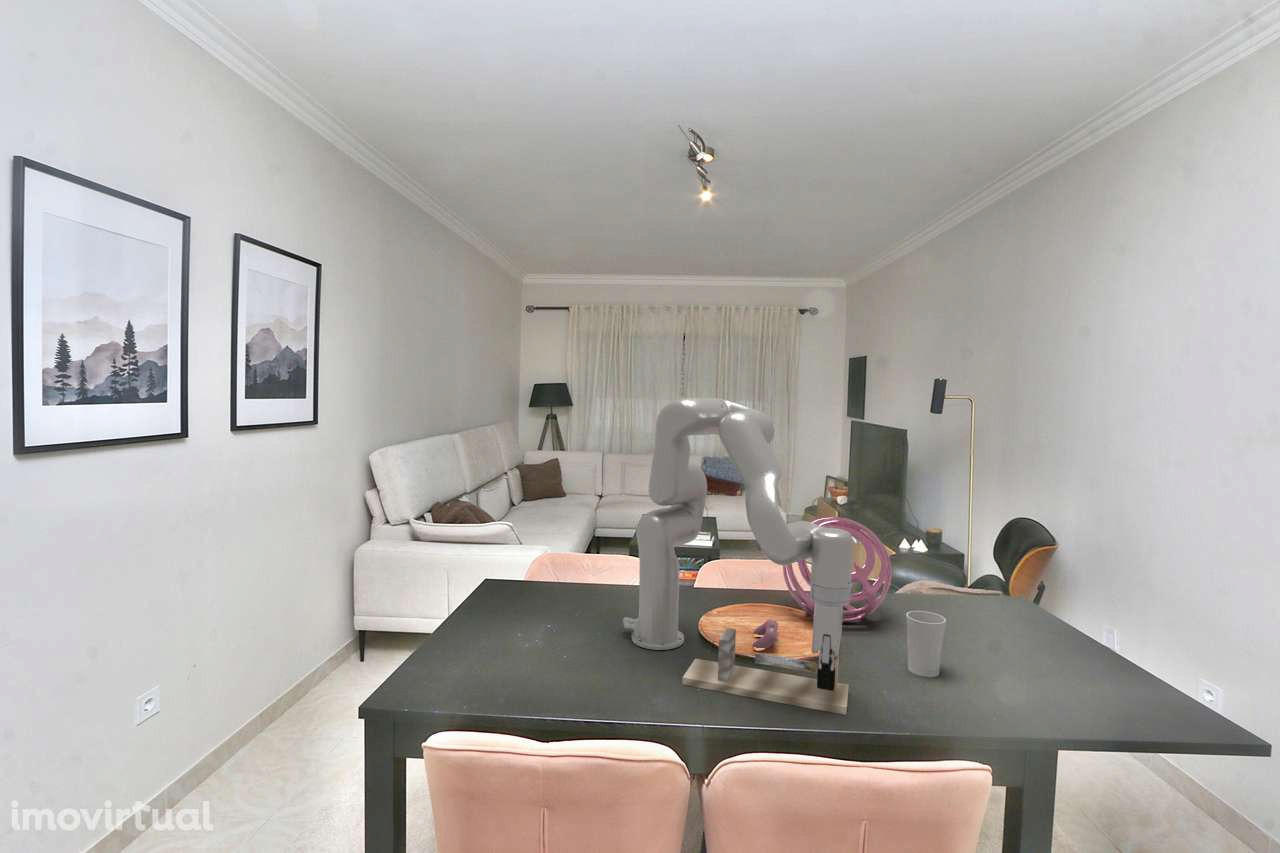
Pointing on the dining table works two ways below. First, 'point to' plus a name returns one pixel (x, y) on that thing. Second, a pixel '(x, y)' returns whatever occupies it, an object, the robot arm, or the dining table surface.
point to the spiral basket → (857, 576)
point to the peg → (794, 663)
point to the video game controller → (766, 634)
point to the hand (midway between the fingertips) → (826, 682)
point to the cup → (924, 642)
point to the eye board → (762, 681)
